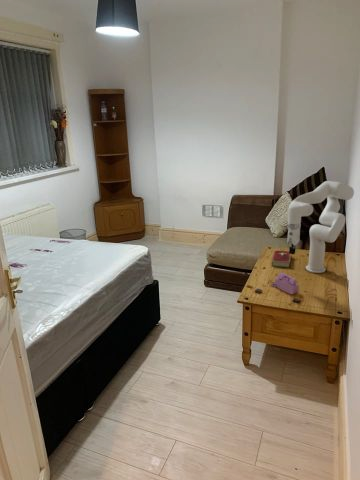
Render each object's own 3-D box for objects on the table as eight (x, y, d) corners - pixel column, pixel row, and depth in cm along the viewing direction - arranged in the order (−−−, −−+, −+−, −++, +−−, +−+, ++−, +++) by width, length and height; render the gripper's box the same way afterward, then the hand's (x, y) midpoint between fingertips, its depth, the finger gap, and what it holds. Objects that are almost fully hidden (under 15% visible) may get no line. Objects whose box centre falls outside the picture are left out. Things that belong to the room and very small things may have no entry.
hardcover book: (271, 266, 250) (272, 260, 249) (274, 255, 269) (274, 249, 267) (289, 267, 246) (289, 262, 245) (290, 256, 265) (291, 251, 264)
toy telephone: (299, 292, 213) (300, 277, 209) (291, 296, 210) (292, 280, 206) (276, 282, 227) (277, 267, 224) (269, 285, 224) (270, 270, 220)
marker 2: (294, 299, 206) (294, 297, 205) (299, 300, 204) (299, 298, 204) (292, 301, 204) (292, 299, 203) (298, 303, 202) (298, 301, 202)
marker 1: (257, 290, 218) (257, 288, 218) (261, 291, 217) (261, 289, 216) (255, 292, 216) (255, 290, 216) (259, 293, 214) (259, 291, 214)
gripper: (296, 229, 207) (294, 258, 213) (303, 222, 219) (301, 250, 225) (283, 228, 211) (282, 256, 217) (291, 221, 223) (290, 248, 229)
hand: (292, 253), depth 221 cm, fingers closed
